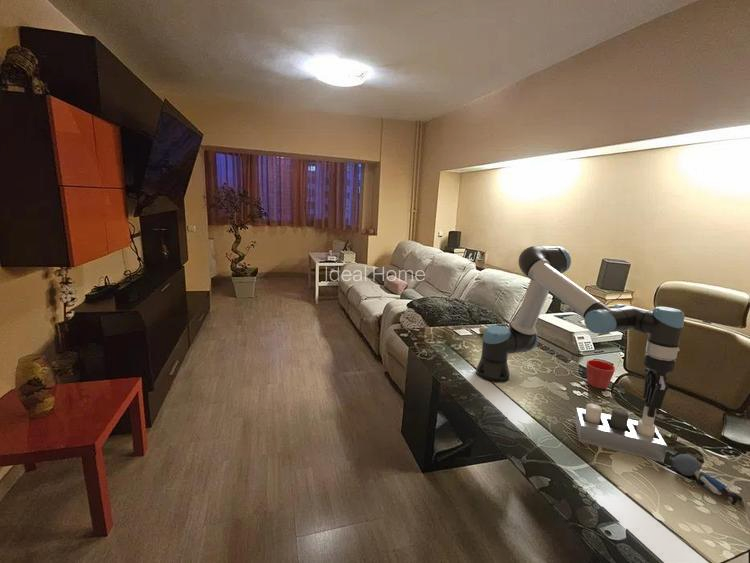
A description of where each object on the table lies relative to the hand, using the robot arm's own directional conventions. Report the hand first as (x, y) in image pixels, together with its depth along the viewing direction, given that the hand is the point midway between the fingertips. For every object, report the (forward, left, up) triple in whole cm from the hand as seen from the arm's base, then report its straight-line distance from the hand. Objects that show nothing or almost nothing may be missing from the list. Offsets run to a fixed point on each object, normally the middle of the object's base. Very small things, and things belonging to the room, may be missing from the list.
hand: (647, 423), depth 110 cm
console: (-8, 0, -9) cm, 12 cm away
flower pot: (-6, +45, -9) cm, 46 cm away
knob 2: (0, 0, -6) cm, 6 cm away
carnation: (-54, +77, -9) cm, 94 cm away
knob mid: (-8, 0, -4) cm, 9 cm away
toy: (+11, -12, -9) cm, 18 cm away
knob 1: (-15, 0, -4) cm, 16 cm away
